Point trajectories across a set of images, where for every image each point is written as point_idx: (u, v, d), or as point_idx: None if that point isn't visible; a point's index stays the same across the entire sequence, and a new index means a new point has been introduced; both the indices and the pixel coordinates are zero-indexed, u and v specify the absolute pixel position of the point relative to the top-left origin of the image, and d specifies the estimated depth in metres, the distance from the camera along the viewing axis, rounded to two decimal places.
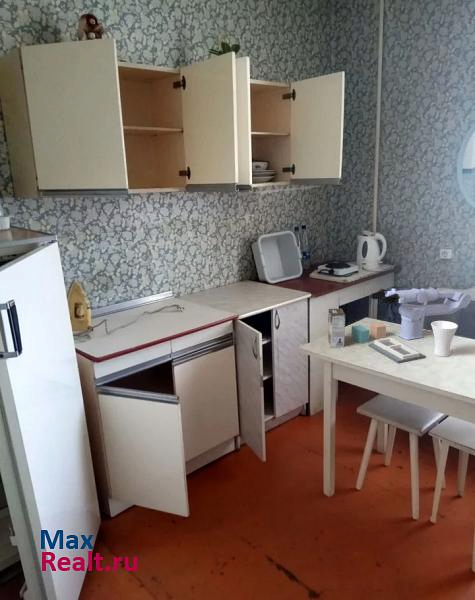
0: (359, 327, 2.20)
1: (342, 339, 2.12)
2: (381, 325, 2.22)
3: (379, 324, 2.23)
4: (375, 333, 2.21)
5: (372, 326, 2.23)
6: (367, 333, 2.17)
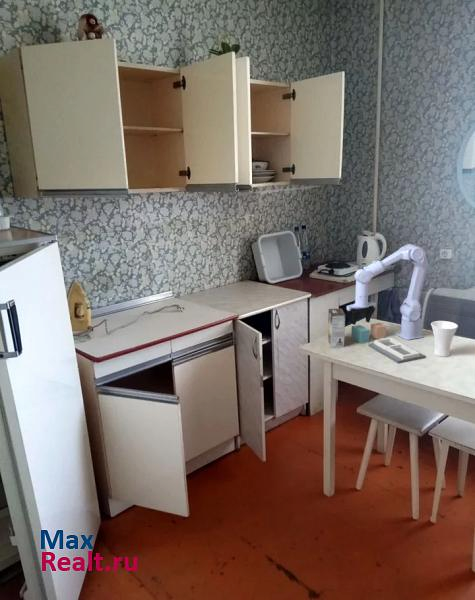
0: (359, 327, 2.20)
1: (342, 339, 2.12)
2: (381, 325, 2.22)
3: (379, 324, 2.23)
4: (375, 333, 2.21)
5: (372, 326, 2.23)
6: (367, 333, 2.17)
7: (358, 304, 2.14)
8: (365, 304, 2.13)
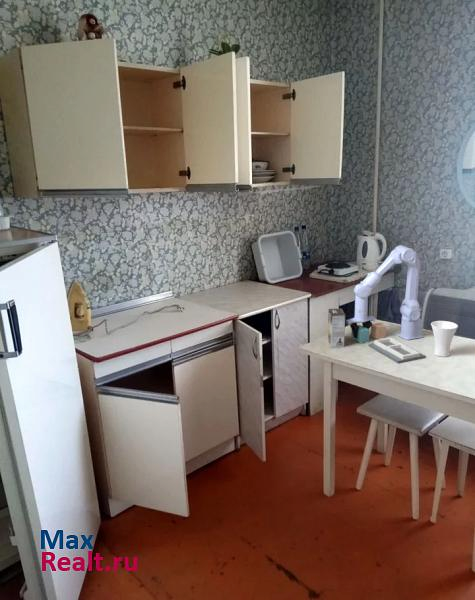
0: (359, 327, 2.20)
1: (342, 339, 2.12)
2: (381, 325, 2.22)
3: (379, 324, 2.23)
4: (375, 333, 2.21)
5: (372, 326, 2.23)
6: (367, 333, 2.16)
7: (357, 318, 2.16)
8: (364, 318, 2.15)
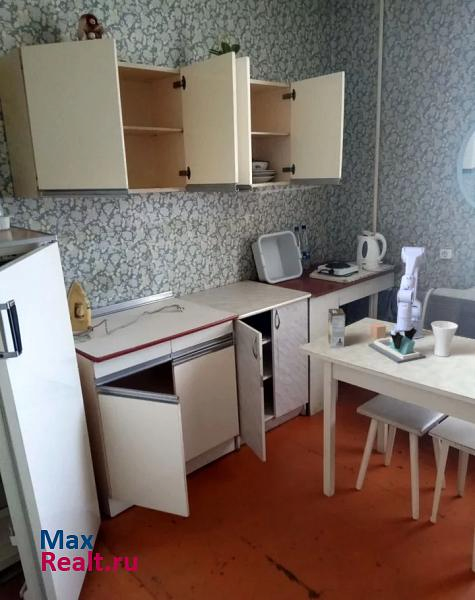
0: (402, 338, 2.00)
1: (342, 339, 2.12)
2: (381, 325, 2.22)
3: (379, 324, 2.23)
4: (375, 333, 2.21)
5: (372, 326, 2.23)
6: (412, 345, 1.98)
7: (402, 327, 1.96)
8: (409, 326, 1.96)
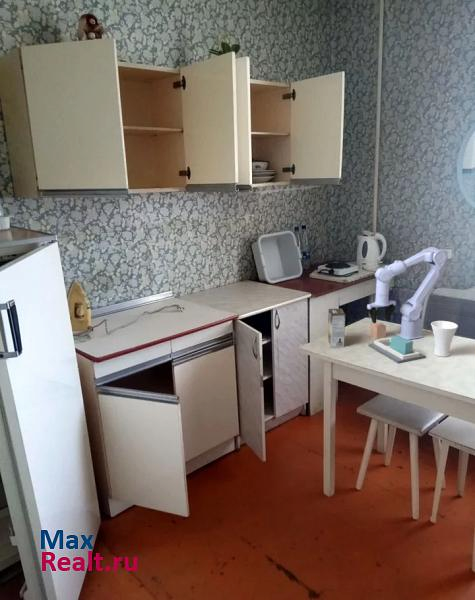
0: (400, 339, 2.01)
1: (342, 339, 2.12)
2: (381, 325, 2.22)
3: (379, 324, 2.23)
4: (375, 333, 2.21)
5: (372, 326, 2.23)
6: (411, 345, 1.98)
7: (379, 303, 2.15)
8: (386, 303, 2.14)
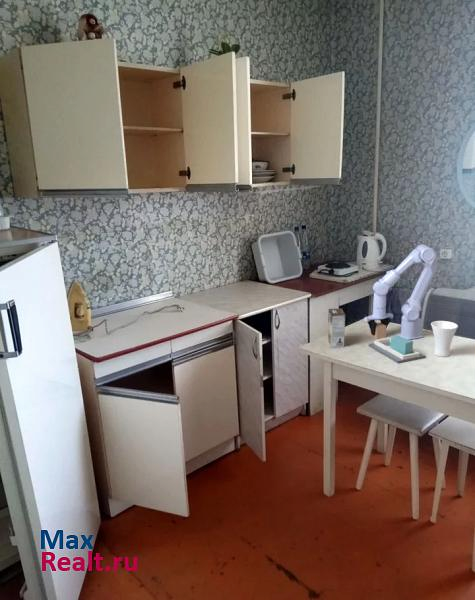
0: (400, 339, 2.01)
1: (342, 339, 2.12)
2: (381, 325, 2.22)
3: (379, 324, 2.23)
4: (375, 333, 2.21)
5: None
6: (411, 345, 1.98)
7: (376, 315, 2.19)
8: (383, 316, 2.18)
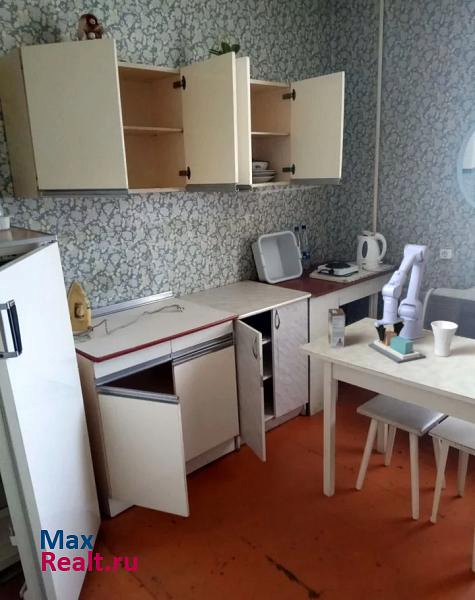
0: (400, 339, 2.01)
1: (342, 339, 2.12)
2: (391, 333, 2.08)
3: (389, 332, 2.09)
4: (385, 341, 2.08)
5: None
6: (411, 345, 1.98)
7: (387, 320, 2.05)
8: (394, 320, 2.04)
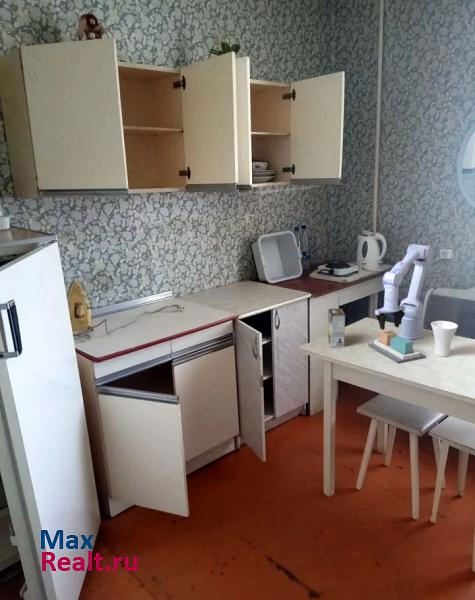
0: (400, 339, 2.01)
1: (342, 339, 2.12)
2: (391, 333, 2.08)
3: (389, 332, 2.09)
4: (385, 341, 2.08)
5: (382, 334, 2.09)
6: (411, 345, 1.98)
7: (387, 308, 2.03)
8: (395, 308, 2.03)
